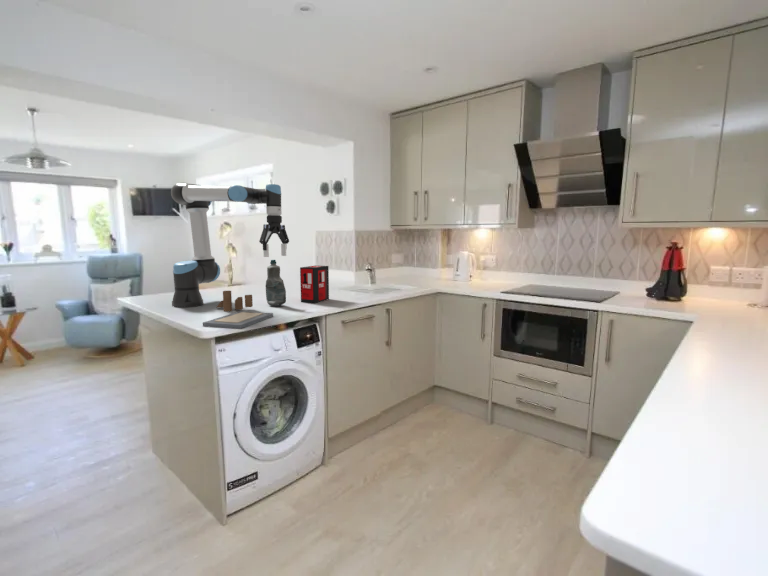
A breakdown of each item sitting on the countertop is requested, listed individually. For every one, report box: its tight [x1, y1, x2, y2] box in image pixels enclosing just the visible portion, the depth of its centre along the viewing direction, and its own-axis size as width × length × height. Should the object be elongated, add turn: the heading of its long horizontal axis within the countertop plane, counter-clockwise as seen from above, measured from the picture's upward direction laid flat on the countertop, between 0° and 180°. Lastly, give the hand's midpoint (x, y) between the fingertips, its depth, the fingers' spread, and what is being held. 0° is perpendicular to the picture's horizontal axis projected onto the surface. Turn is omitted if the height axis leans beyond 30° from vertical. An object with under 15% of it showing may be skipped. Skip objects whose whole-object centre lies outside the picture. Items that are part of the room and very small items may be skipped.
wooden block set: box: [216, 290, 254, 312], centre depth 201 cm, size 18×9×10 cm, turn 94°
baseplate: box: [202, 310, 274, 330], centre depth 177 cm, size 18×26×2 cm
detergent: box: [265, 259, 287, 307], centre depth 214 cm, size 13×7×25 cm, turn 67°
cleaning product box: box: [299, 265, 330, 304], centre depth 232 cm, size 16×9×20 cm, turn 159°
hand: (275, 256), depth 209 cm, fingers open, 13 cm apart
